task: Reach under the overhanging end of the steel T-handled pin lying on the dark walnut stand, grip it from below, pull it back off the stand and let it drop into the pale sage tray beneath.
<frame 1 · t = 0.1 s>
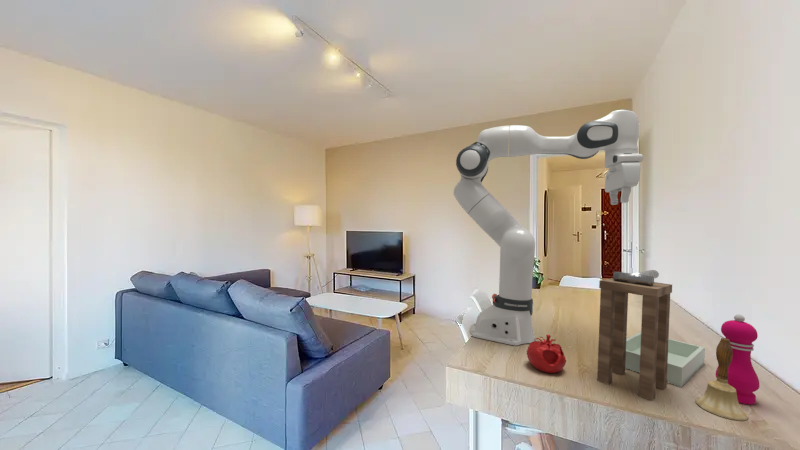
hand: (619, 203, 102), 48 cm above the table, tool pointing down, fingers open, 8 cm apart
tray: (657, 363, 94), on the table
pomegranate: (545, 368, 88), on the table
hand bell: (720, 410, 70), on the table
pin: (642, 280, 84), point 26 cm above the table, touching stand
stand: (631, 383, 81), on the table
pepper mill: (736, 398, 76), on the table
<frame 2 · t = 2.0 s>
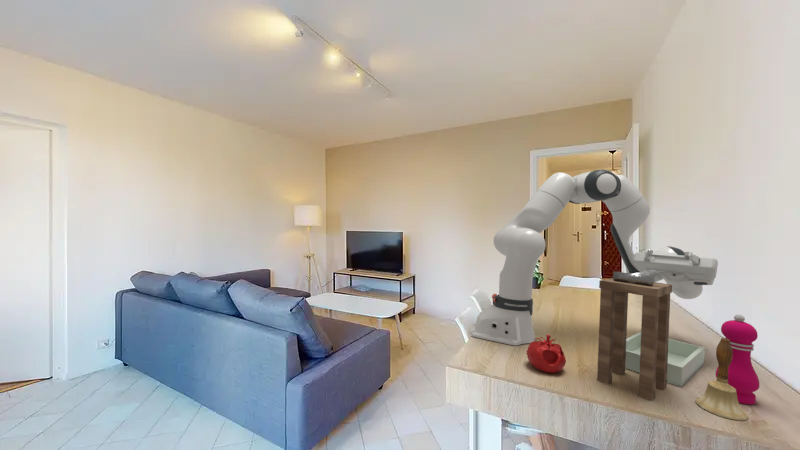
hand: (667, 252, 96), 33 cm above the table, tool pointing upward, fingers open, 8 cm apart
nothing on the table moved.
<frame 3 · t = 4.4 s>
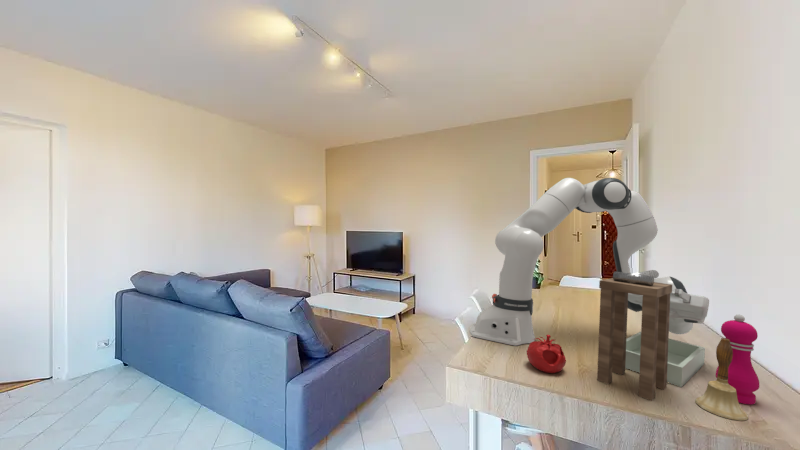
hand: (656, 288, 92), 23 cm above the table, tool pointing upward, fingers open, 8 cm apart
nothing on the table moved.
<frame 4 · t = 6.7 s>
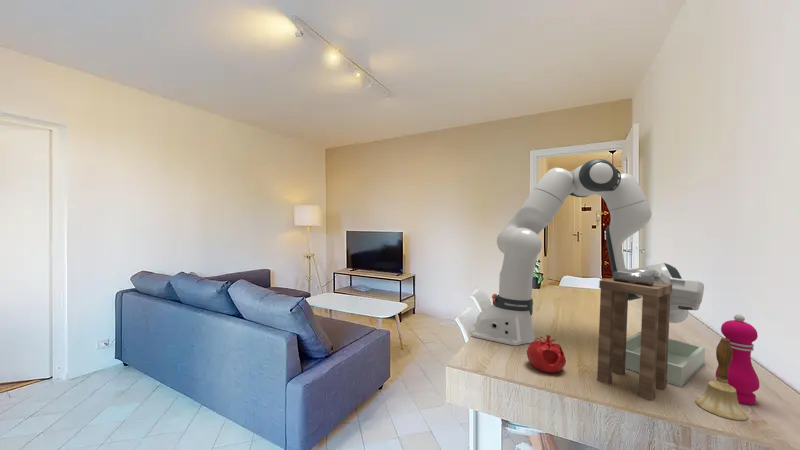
hand: (648, 273, 87), 28 cm above the table, tool pointing upward, fingers closed on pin, 2 cm apart
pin: (642, 280, 84), point 26 cm above the table, touching gripper, stand
everything else where it was.
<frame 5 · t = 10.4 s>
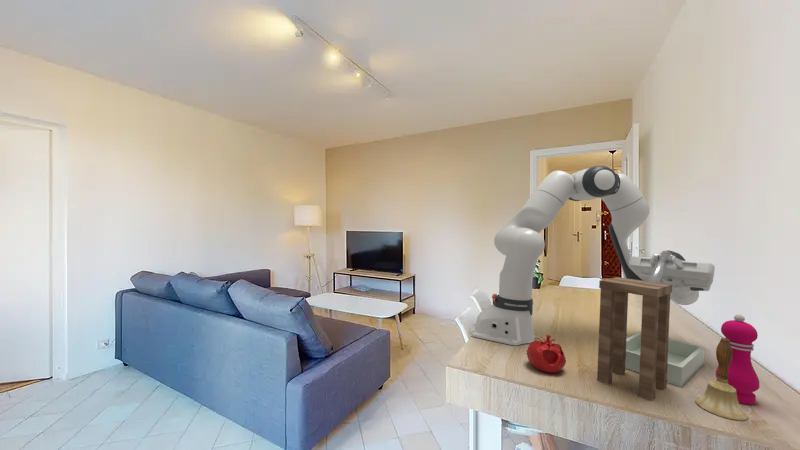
hand: (663, 256, 94), 32 cm above the table, tool pointing upward, fingers closed on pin, 2 cm apart
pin: (659, 274, 92), point 27 cm above the table, tilted 34°, touching gripper
everything else where it was.
when the fingers open (20 cm above the table, at t = 13.9 s): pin drops 12 cm, resting on tray.
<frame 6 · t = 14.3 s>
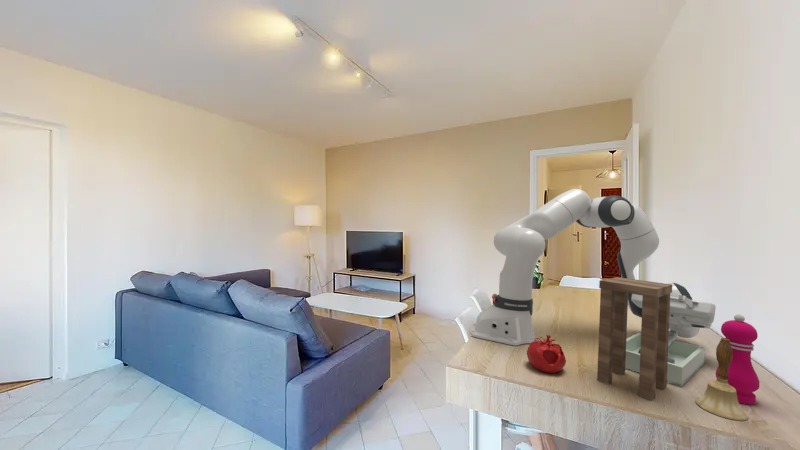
hand: (665, 295, 96), 20 cm above the table, tool pointing upward, fingers open, 6 cm apart
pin: (664, 349, 97), point 3 cm above the table, tilted 16°, touching tray
everything else where it was.
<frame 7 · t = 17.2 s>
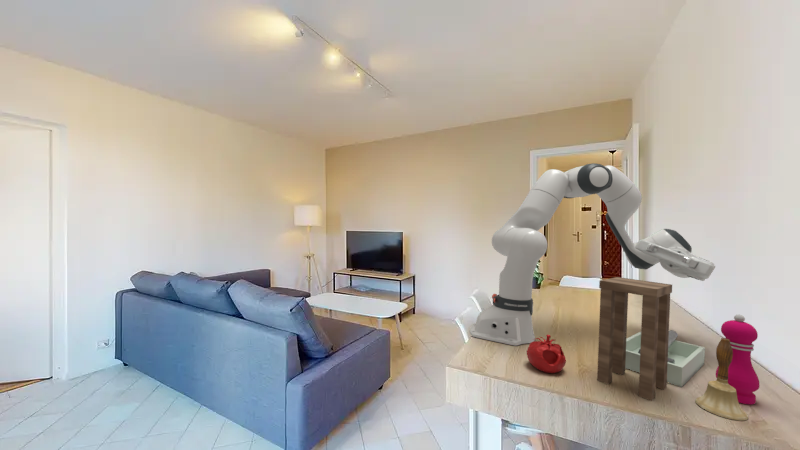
hand: (667, 253, 98), 33 cm above the table, tool horizontal, fingers open, 8 cm apart
nothing on the table moved.
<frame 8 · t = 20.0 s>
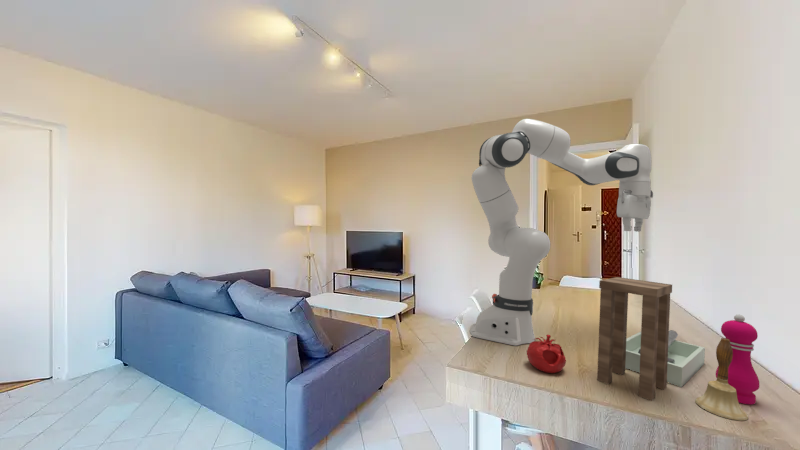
hand: (632, 231, 110), 39 cm above the table, tool pointing down, fingers open, 8 cm apart
nothing on the table moved.
at the end: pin inside the target area on the tray (5.1 cm from its centre), point 3.2 cm above the tray's base; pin touching tray; the gripper is holding nothing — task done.
